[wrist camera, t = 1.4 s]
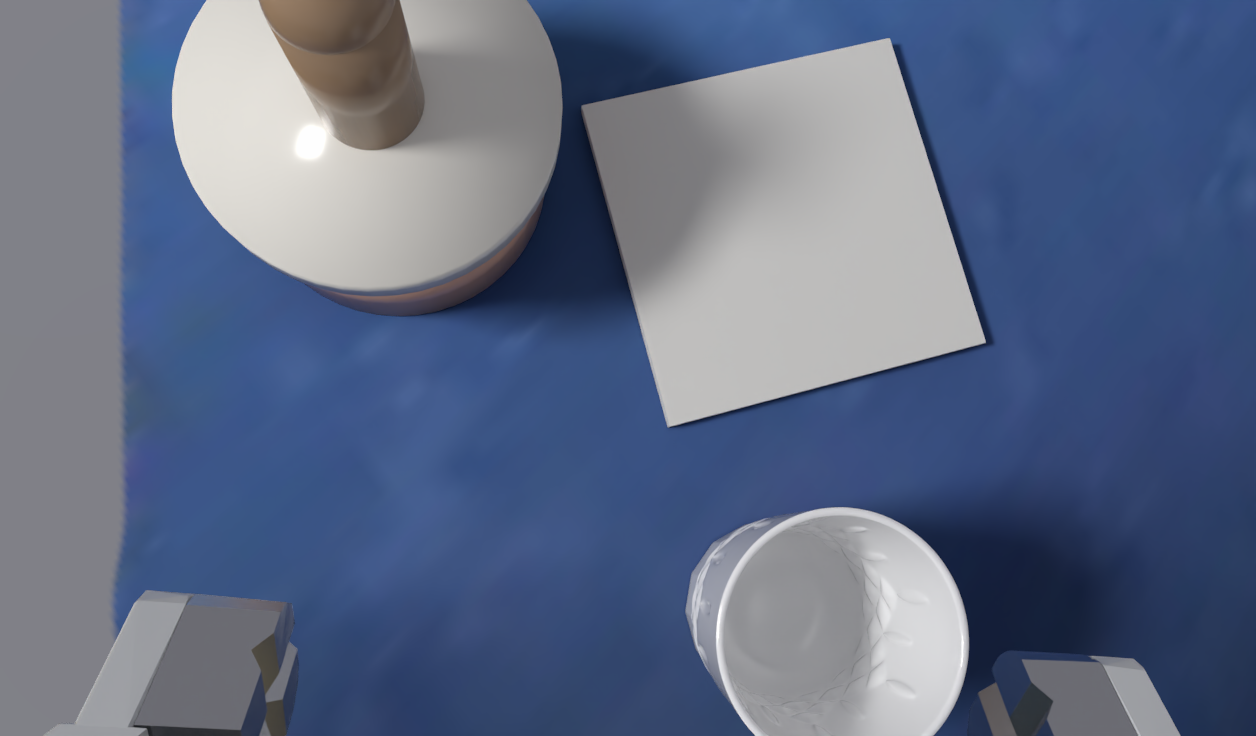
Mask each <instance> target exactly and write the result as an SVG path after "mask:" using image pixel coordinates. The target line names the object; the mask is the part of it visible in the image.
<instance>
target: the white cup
mask: <svg viewBox="0 0 1256 736" xmlns="http://www.w3.org/2000/svg"><path fill="white" fill-rule="evenodd" d="M685 612H686V616H687V620H688V623H689V627H690V630H691V634H692V638H693V641H694V645H695V648H696V650H697V652H698V653H699V654H700V656H701V659H702V661H703V663H704V665H705V667H706V668H707V670H708V671H709V673H710V674H711V676H712V678H713V680H714V681H715V683H716V684H717V686H718V688H719V689H720V691H721V692H722V693H723V695H724V696H725V697H726V698H727V700H728V701H729V702H730V704H731V705H732V706H733V708H734V709H735V710H736V712H737V713H738V715H739V716H740V718H741V719H742V720H743V722H744V723H745V724H746V726H747V727H748V728H749V729H750V730H751V731H752V733H753V734H754V735H755V736H933V735H934V734H935V733H936V732H937V731H938V730H939V729H940V727H941V726H942V725H943V723H944V722H945V721H946V719H947V718H948V716H949V714H950V713H951V711H952V709H953V707H954V705H955V703H956V701H957V699H958V697H959V694H960V692H961V689H962V686H963V683H964V679H965V675H966V670H967V664H968V656H969V631H968V623H967V617H966V612H965V608H964V604H963V601H962V598H961V595H960V593H959V590H958V588H957V585H956V583H955V581H954V579H953V577H952V575H951V574H950V572H949V570H948V569H947V567H946V566H945V564H944V563H943V561H942V560H941V559H940V557H939V556H938V555H937V554H936V552H935V551H934V550H933V549H932V548H931V547H930V546H929V545H928V544H927V543H926V542H925V541H924V540H923V539H922V538H921V537H919V536H918V535H917V534H916V533H914V532H913V531H912V530H910V529H909V528H907V527H906V526H904V525H902V524H901V523H899V522H897V521H895V520H893V519H891V518H889V517H886V516H884V515H881V514H878V513H875V512H871V511H867V510H863V509H857V508H847V507H832V508H823V509H817V510H811V511H805V512H798V513H791V514H784V515H779V516H774V517H771V518H766V519H762V520H759V521H756V522H753V523H751V524H745V525H743V526H741V527H739V528H738V529H736V530H734V531H732V532H731V533H729V534H727V535H725V536H723V537H722V538H720V539H718V540H716V541H715V542H713V543H712V545H711V546H710V547H709V549H708V550H707V552H706V553H705V555H704V556H703V558H702V559H701V560H700V562H699V563H698V565H697V566H696V568H695V569H694V571H693V572H692V574H691V580H690V586H689V592H688V598H687V604H686V610H685Z"/></svg>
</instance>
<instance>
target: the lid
mask: <svg viewBox="0 0 1256 736" xmlns="http://www.w3.org/2000/svg"><path fill="white" fill-rule="evenodd" d="M562 108H563V105H562V89H561V80H560V75H559V70H558V65H557V60H556V57H555V55H554V52H553V49H552V46H551V43H550V40H549V38H548V36H547V34H546V32H545V30H544V28H543V26H542V24H541V22H540V20H539V18H538V16H537V15H536V13H535V12H534V10H533V9H532V7H531V6H530V4H529V3H528V2H527V0H207V1H206V2H205V3H204V5H203V7H202V8H201V10H200V11H199V13H198V15H197V16H196V18H195V19H194V21H193V23H192V25H191V27H190V29H189V31H188V34H187V36H186V38H185V40H184V43H183V45H182V48H181V51H180V55H179V58H178V62H177V65H176V69H175V76H174V83H173V90H172V118H173V125H174V132H175V139H176V143H177V147H178V150H179V153H180V157H181V160H182V163H183V166H184V168H185V170H186V172H187V175H188V177H189V179H190V181H191V183H192V185H193V187H194V189H195V191H196V192H197V194H198V195H199V197H200V198H201V200H202V201H203V203H204V205H205V206H206V208H207V209H208V210H209V211H210V212H211V214H212V215H213V216H214V217H215V218H216V219H217V221H218V222H219V223H220V224H221V225H222V226H223V228H224V229H226V230H227V231H228V232H229V233H230V234H231V235H232V236H233V237H234V238H236V239H237V240H238V241H239V242H240V243H241V244H242V245H243V246H245V247H246V248H247V249H248V250H249V251H250V252H251V253H252V254H254V255H255V256H256V257H257V258H259V259H260V260H262V261H263V262H265V263H266V264H268V265H269V266H271V267H272V268H274V269H275V270H277V271H279V272H281V273H283V274H285V275H287V276H289V277H291V278H293V279H295V280H297V281H299V282H302V283H305V284H308V285H311V286H314V287H317V288H320V289H323V290H327V291H332V292H337V293H342V294H347V295H359V296H393V295H402V294H407V293H413V292H419V291H423V290H426V289H430V288H433V287H436V286H439V285H443V284H446V283H448V282H450V281H452V280H454V279H457V278H459V277H461V276H463V275H466V274H468V273H469V272H471V271H472V270H474V269H476V268H477V267H479V266H481V265H482V264H484V263H485V262H487V261H488V260H490V259H491V258H492V257H493V256H495V255H496V254H497V253H498V252H500V251H501V250H502V249H503V248H504V247H506V246H507V245H508V244H509V243H510V242H511V241H512V239H513V238H514V237H515V236H516V235H517V234H518V233H519V232H520V231H521V230H522V229H523V228H524V226H525V225H526V223H527V222H528V221H529V219H530V218H531V216H532V215H533V214H534V212H535V211H536V209H537V207H538V206H539V204H540V202H541V200H542V198H543V196H544V194H545V192H546V190H547V188H548V185H549V183H550V180H551V177H552V175H553V172H554V169H555V165H556V161H557V156H558V151H559V147H560V136H561V122H562Z"/></svg>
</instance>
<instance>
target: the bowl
mask: <svg viewBox="0 0 1256 736" xmlns="http://www.w3.org/2000/svg"><path fill="white" fill-rule="evenodd" d="M544 195H545V194H544ZM543 200H544V196H543V198H542V200H541V202H540V204H539V206H538V207H537V209H536V211H535V212H534V214H533V215H532V216H531V218H530V219H529V221H528V222H527V223H526V225H525V226H524V228H523V229H522V230H521V231H520V232H519V233H518V234H517V235H516V236H515V237H514V238H513V239H512V241H511V242H510V243H509V244H508V245H507V246H506V247H504V248H503V249H502V250H501V251H500V252H498V253H497V254H496V255H495V256H493V257H492V258H491V259H490V260H488V261H487V262H485V263H484V264H482V265H481V266H479V267H477V268H476V269H474V270H472V271H471V272H469V273H468V274H466V275H463V276H461V277H459V278H457V279H454V280H452V281H450V282H448V283H446V284H443V285H439V286H436V287H433V288H430V289H426V290H423V291H419V292H413V293H407V294H402V295H393V296H359V295H347V294H342V293H337V292H332V291H327V290H323V289H320V288H317V287H314V286H311V285H308V284H305V283H304V284H305V285H307V286H308V287H310V288H311V289H313V290H314V291H316V292H317V293H319V294H320V295H322V296H323V297H325V298H327V299H329V300H332V301H334V302H336V303H338V304H340V305H343V306H346V307H348V308H351V309H354V310H357V311H362V312H366V313H371V314H376V315H387V316H411V315H420V314H426V313H432V312H437V311H440V310H443V309H446V308H449V307H453V306H455V305H457V304H460V303H462V302H464V301H466V300H468V299H471V298H472V297H474V296H476V295H477V294H479V293H480V292H482V291H484V290H485V289H487V288H488V287H489V286H491V285H492V284H493V283H494V282H496V281H497V280H498V279H499V278H500V277H502V276H503V275H504V274H505V273H506V271H507V270H508V269H509V268H510V267H511V266H512V265H513V264H514V263H515V262H516V260H517V259H518V257H519V256H520V255H521V253H522V252H523V250H524V249H525V248H526V246H527V244H528V242H529V240H530V238H531V236H532V235H533V233H534V231H535V228H536V225H537V222H538V220H539V217H540V214H541V210H542V205H543Z"/></svg>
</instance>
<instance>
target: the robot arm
mask: <svg viewBox="0 0 1256 736" xmlns="http://www.w3.org/2000/svg"><path fill="white" fill-rule="evenodd" d="M294 624H295V622H294V615H293V608H292V603H286V602H275V601H265V600H254V599H244V598H233V597H222V596H212V595H201V594H189V593H176V592H163V591H151V590H146V591H145V592H144V594H143V595H142V596H141V597H140V598H139V599H138V600H137V601H136V602H135V603H134V605H133V607H132V609H131V611H130V613H129V615H128V617H127V619H126V621H125V623H124V625H123V627H122V629H121V631H120V633H119V635H118V637H117V639H116V641H115V643H114V645H113V647H112V649H111V651H110V653H109V656H108V657H107V660H106V662H105V664H104V666H103V668H102V670H101V672H100V674H99V676H98V678H97V680H96V682H95V684H94V686H93V688H92V690H91V692H90V694H89V696H88V698H87V700H86V702H85V704H84V706H83V708H82V710H81V712H80V714H79V716H78V718H77V720H76V722H75V724H74V723H59V724H58V725H57V726H55V727H54V728H53V729H51V730H50V731H49V732H47V733H46V734H45V735H43V736H285V735H286V734H287V731H288V727H289V724H290V720H291V716H292V713H293V708H294V703H295V697H296V691H297V685H298V667H299V662H298V651H297V648H295V647H294V646H293V645H292V644H291V643H290V642H289V640H290V637H291V633H292V630H293V627H294ZM991 670H992V673H993V676H994V678H995V681H996V683H994V684H992V685H991V686H989V687H987V688H985V689H984V690H982V691H980V692H979V693H978V694H977V696H976V698H975V700H974V702H973V704H972V706H971V708H970V710H969V718H968V729H967V736H1180V734H1179V732H1178V730H1177V728H1176V726H1175V725H1174V723H1173V721H1172V719H1171V717H1170V715H1169V714H1168V712H1167V710H1166V708H1165V706H1164V704H1163V703H1162V701H1161V699H1160V697H1159V695H1158V693H1157V692H1156V690H1155V688H1154V686H1153V684H1152V682H1151V681H1150V679H1149V677H1148V675H1147V673H1146V671H1145V670H1144V668H1143V667H1142V666H1141V665H1140V664H1139V663H1138V662H1136V661H1135V660H1134V659H1130V658H1117V657H1101V656H1087V655H1085V654H1068V653H1049V652H1031V651H1012V650H1008V651H1007V652H1005V653H1003V654H1001V655H1000V656H999V657H998V659H997V660H996V662H995V664H994V665H993V667H992V669H991Z"/></svg>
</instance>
